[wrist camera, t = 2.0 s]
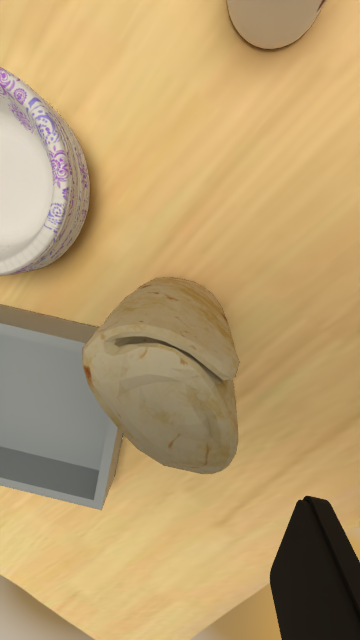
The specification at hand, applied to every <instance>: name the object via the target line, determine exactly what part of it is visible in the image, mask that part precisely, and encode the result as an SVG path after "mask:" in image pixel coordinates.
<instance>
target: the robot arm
mask: <svg viewBox="0 0 360 640" xmlns="http://www.w3.org/2000/svg"><path fill="white" fill-rule="evenodd" d="M270 585H271V590H272V595H273V600H274V604H275V609H276V613H277V619H278V623H279V628H280V633H281V638H282V640H360V562H359V560H358V558H357V556H356V554H355V552H354V550H353V548H352V546H351V544H350V542H349V540H348V538H347V536H346V534H345V532H344V530H343V528H342V526H341V524H340V522H339V520H338V518H337V516H336V514H335V512H334V510H333V508H332V506H331V504H330V503H329V502H328V501H327V500H324V499H320V498H315V497H311V496H305V497H304V499H303V500H298V502H297V503H296V506H295V509H294V511H293V514H292V516H291V519H290V521H289V524H288V527H287V529H286V532H285V534H284V537H283V539H282V542H281V545H280V547H279V550H278V552H277V555H276V557H275V560H274V562H273V565H272V568H271V572H270Z"/></svg>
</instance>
